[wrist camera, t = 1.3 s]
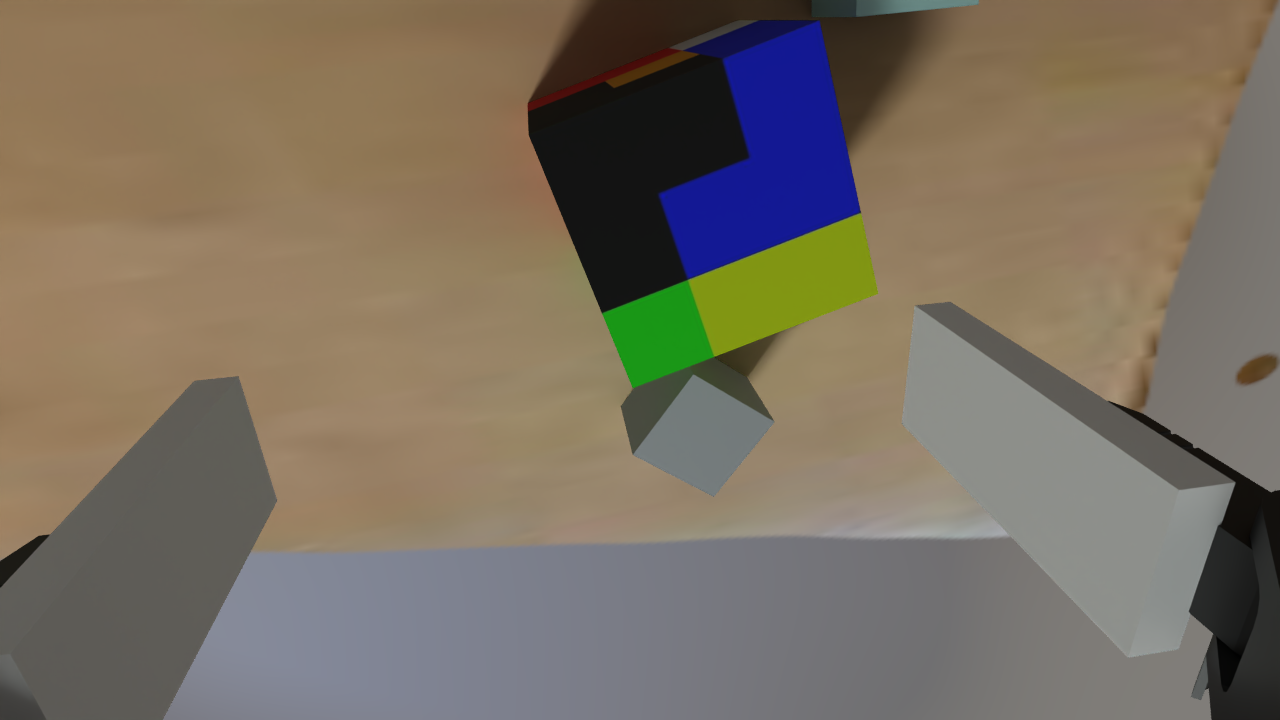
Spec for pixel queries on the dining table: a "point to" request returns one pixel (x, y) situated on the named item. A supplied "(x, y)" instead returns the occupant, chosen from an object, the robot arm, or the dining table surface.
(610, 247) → the puzzle toy
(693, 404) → the slate grey cube
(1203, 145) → the dining table surface
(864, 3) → the dusty teal cube
